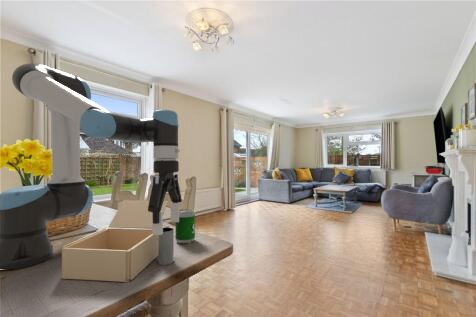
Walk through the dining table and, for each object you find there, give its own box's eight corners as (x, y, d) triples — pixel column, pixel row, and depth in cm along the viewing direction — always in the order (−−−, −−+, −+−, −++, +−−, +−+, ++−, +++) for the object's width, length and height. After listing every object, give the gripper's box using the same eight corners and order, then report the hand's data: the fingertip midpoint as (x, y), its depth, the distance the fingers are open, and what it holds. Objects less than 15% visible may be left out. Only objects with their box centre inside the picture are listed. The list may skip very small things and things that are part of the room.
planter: (165, 266, 71) (165, 232, 71) (155, 263, 73) (155, 230, 73) (176, 261, 75) (176, 228, 75) (166, 257, 77) (166, 226, 77)
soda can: (190, 245, 88) (190, 213, 88) (171, 243, 90) (171, 212, 90) (197, 238, 96) (197, 209, 96) (180, 237, 97) (180, 208, 97)
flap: (108, 226, 82) (123, 200, 91) (109, 227, 83) (124, 200, 92) (157, 228, 81) (167, 200, 90) (157, 228, 81) (168, 201, 90)
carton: (58, 279, 63) (58, 248, 63) (105, 251, 83) (105, 227, 83) (129, 283, 61) (129, 251, 61) (161, 253, 81) (161, 229, 81)
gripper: (161, 159, 61) (162, 241, 61) (189, 159, 86) (190, 218, 86) (133, 160, 62) (134, 240, 62) (169, 160, 87) (170, 217, 87)
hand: (167, 227), depth 74 cm, fingers open, 13 cm apart
